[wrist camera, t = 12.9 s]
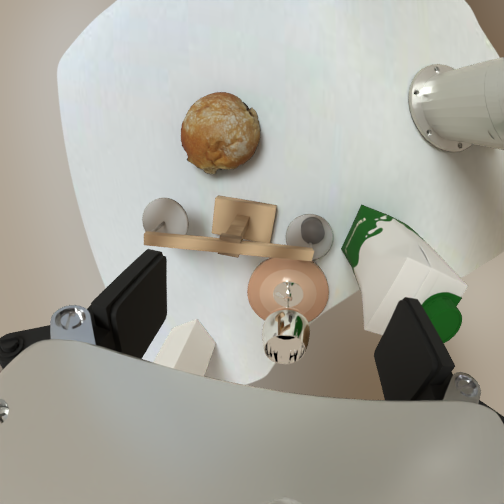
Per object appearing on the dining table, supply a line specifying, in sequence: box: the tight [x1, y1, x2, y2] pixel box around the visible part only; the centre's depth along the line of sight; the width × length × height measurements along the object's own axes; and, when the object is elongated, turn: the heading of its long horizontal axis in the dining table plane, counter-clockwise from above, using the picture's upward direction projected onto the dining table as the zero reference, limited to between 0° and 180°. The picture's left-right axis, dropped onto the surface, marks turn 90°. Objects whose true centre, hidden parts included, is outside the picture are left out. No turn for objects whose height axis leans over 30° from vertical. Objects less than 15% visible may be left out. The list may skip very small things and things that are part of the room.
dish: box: [247, 257, 329, 322], centre depth 42 cm, size 12×12×1 cm
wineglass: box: [262, 281, 310, 364], centre depth 36 cm, size 6×6×12 cm
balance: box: [142, 196, 333, 261], centre depth 33 cm, size 24×6×12 cm, turn 81°
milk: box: [153, 319, 216, 376], centre depth 39 cm, size 6×6×22 cm
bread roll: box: [181, 92, 260, 174], centre depth 33 cm, size 10×10×8 cm
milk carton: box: [341, 205, 468, 343], centre depth 29 cm, size 9×9×20 cm
